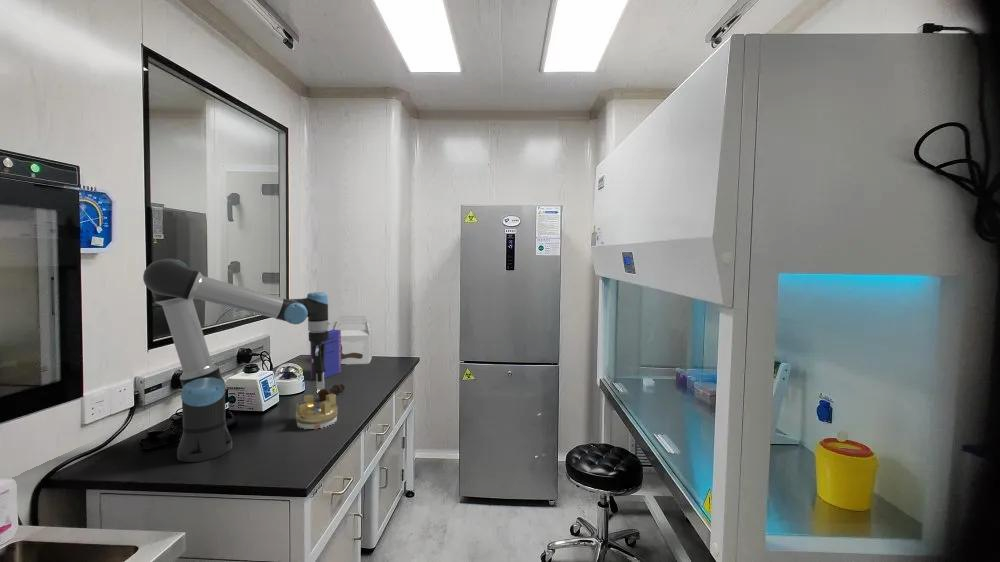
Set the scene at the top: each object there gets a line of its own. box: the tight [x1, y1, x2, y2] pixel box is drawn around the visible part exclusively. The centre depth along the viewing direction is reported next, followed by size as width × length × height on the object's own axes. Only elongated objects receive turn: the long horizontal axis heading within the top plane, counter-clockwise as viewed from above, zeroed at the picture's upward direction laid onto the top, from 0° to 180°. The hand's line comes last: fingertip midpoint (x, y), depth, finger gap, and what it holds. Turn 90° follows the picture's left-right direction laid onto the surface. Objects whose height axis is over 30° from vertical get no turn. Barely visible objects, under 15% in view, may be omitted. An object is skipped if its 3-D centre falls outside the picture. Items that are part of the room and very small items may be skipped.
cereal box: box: [309, 329, 342, 381], centre depth 231 cm, size 17×5×24 cm, turn 160°
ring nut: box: [295, 394, 339, 424], centre depth 168 cm, size 15×15×7 cm
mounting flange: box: [296, 416, 338, 430], centre depth 168 cm, size 14×14×2 cm
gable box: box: [332, 315, 373, 365], centre depth 263 cm, size 22×13×28 cm, turn 101°
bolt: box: [318, 383, 346, 401], centre depth 200 cm, size 6×5×15 cm
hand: (320, 388), depth 174 cm, fingers closed
